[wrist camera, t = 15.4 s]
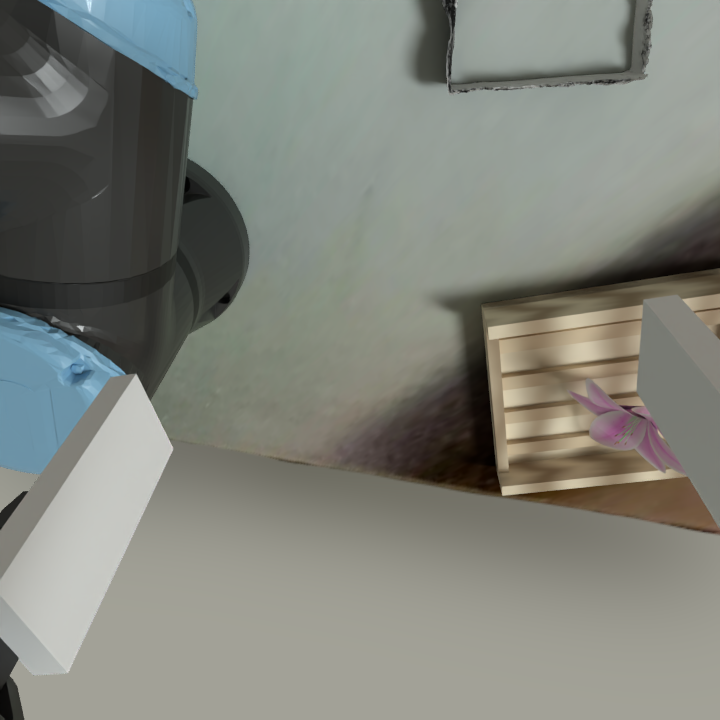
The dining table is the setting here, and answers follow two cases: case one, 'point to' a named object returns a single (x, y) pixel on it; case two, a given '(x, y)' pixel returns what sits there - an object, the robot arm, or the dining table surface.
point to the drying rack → (574, 378)
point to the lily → (626, 428)
